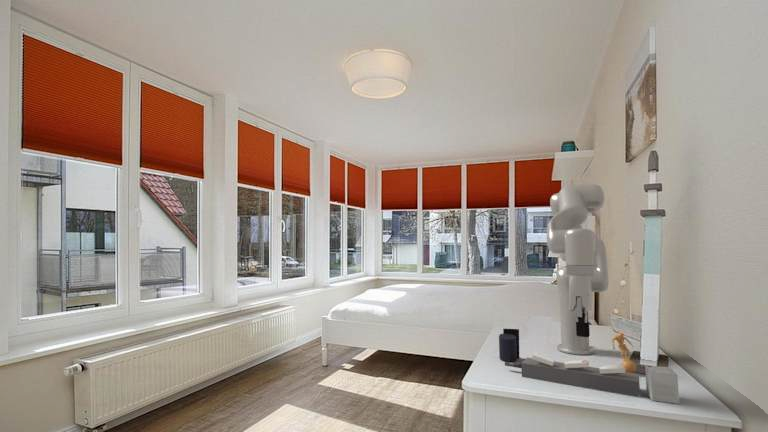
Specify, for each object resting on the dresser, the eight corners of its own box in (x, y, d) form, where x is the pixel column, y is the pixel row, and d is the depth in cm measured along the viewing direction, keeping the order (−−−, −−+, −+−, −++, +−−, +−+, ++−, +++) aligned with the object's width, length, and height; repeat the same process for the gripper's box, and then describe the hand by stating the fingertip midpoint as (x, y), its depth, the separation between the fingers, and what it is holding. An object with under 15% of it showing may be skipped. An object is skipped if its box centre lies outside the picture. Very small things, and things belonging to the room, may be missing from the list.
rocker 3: (601, 370, 112) (600, 366, 112) (625, 369, 109) (624, 365, 109) (600, 373, 109) (599, 369, 110) (625, 372, 106) (623, 368, 107)
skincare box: (679, 404, 99) (678, 374, 100) (651, 400, 101) (649, 371, 102) (673, 395, 105) (671, 367, 105) (645, 392, 107) (644, 364, 107)
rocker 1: (534, 356, 122) (534, 352, 122) (554, 363, 119) (555, 359, 119) (531, 358, 120) (532, 354, 120) (552, 366, 116) (553, 362, 116)
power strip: (508, 367, 130) (508, 353, 130) (639, 388, 110) (638, 372, 110) (502, 373, 124) (501, 358, 124) (639, 397, 104) (638, 380, 104)
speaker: (503, 354, 143) (503, 326, 143) (519, 357, 140) (519, 328, 140) (496, 361, 137) (496, 332, 137) (513, 365, 134) (513, 335, 133)
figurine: (624, 376, 119) (622, 336, 120) (607, 370, 125) (605, 332, 126) (644, 373, 122) (642, 334, 123) (626, 368, 128) (624, 330, 129)
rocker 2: (566, 365, 117) (565, 360, 117) (589, 364, 114) (587, 359, 114) (565, 368, 114) (563, 363, 115) (587, 367, 111) (586, 362, 112)
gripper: (570, 270, 123) (573, 330, 122) (561, 272, 111) (564, 339, 109) (597, 270, 119) (600, 333, 117) (591, 273, 107) (594, 342, 105)
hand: (583, 336), depth 113 cm, fingers closed
